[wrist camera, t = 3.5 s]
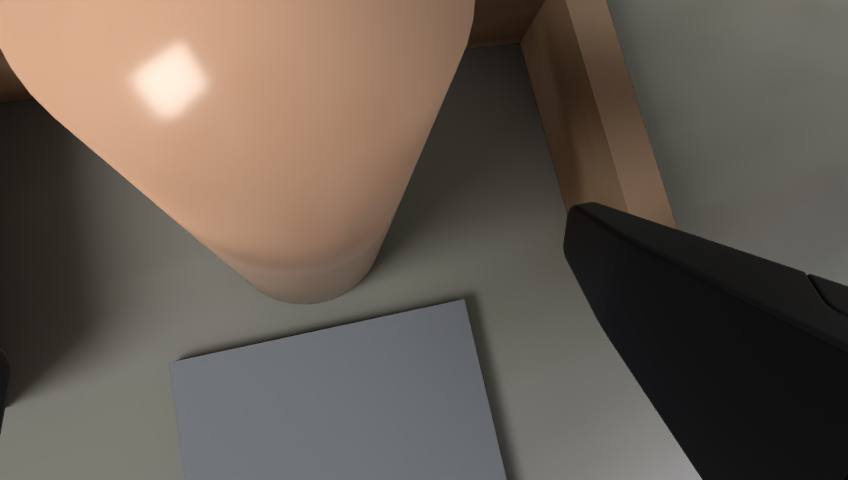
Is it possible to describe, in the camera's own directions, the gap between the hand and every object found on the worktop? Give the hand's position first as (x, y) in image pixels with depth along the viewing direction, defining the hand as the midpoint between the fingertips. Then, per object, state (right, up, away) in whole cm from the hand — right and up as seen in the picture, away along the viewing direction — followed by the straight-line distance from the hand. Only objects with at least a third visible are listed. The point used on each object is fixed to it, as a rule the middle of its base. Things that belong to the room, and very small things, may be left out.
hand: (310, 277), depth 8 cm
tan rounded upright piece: (-3, +2, +11) cm, 11 cm away
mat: (-1, -7, +9) cm, 12 cm away
